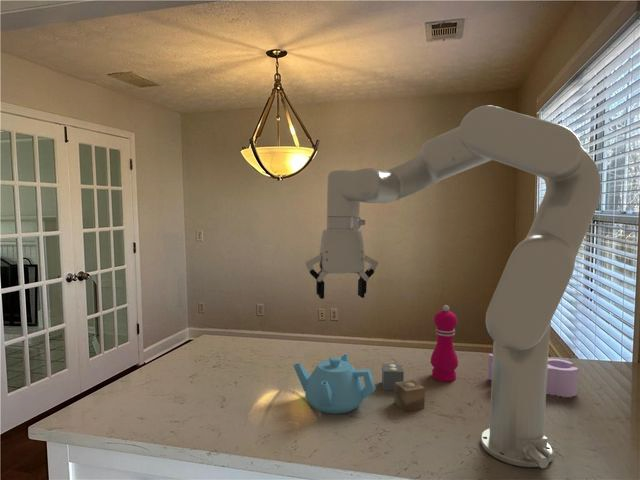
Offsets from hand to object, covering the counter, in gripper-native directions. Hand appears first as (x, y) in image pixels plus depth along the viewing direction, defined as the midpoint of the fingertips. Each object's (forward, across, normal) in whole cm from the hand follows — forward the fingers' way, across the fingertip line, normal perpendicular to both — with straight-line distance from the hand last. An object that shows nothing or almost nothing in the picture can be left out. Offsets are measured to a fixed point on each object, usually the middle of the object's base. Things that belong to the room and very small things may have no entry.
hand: (341, 297), depth 102 cm
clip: (+25, -51, +2) cm, 57 cm away
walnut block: (+25, -16, +6) cm, 30 cm away
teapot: (+26, +1, 0) cm, 26 cm away
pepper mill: (+25, -32, -8) cm, 41 cm away
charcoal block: (+25, -16, -6) cm, 30 cm away
